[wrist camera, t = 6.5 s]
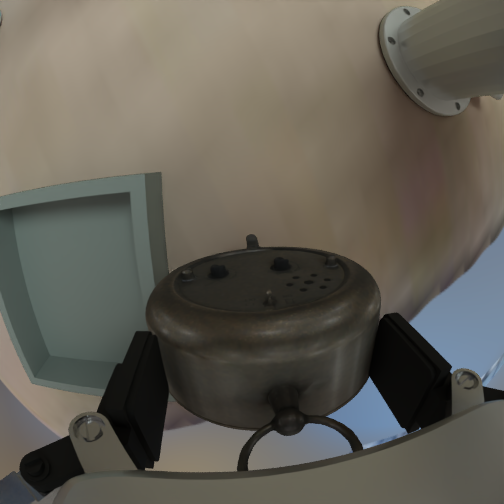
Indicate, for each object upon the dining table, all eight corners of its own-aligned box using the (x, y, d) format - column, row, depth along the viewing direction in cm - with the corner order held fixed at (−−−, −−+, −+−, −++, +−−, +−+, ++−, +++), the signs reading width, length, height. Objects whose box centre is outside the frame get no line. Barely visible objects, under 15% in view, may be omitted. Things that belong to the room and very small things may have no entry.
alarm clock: (179, 306, 20) (136, 533, 5) (166, 235, 18) (38, 456, 3) (325, 290, 21) (452, 473, 5) (326, 220, 19) (527, 366, 4)
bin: (161, 172, 20) (144, 174, 15) (182, 365, 26) (178, 401, 21) (10, 194, 19) (-23, 202, 14) (50, 356, 24) (31, 383, 19)
